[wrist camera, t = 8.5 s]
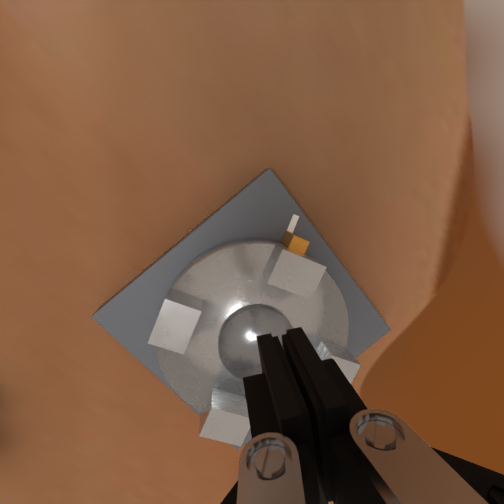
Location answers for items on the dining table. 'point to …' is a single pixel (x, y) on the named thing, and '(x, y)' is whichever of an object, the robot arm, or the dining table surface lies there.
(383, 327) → the housing plate
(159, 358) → the domed turntable base
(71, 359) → the dining table surface
